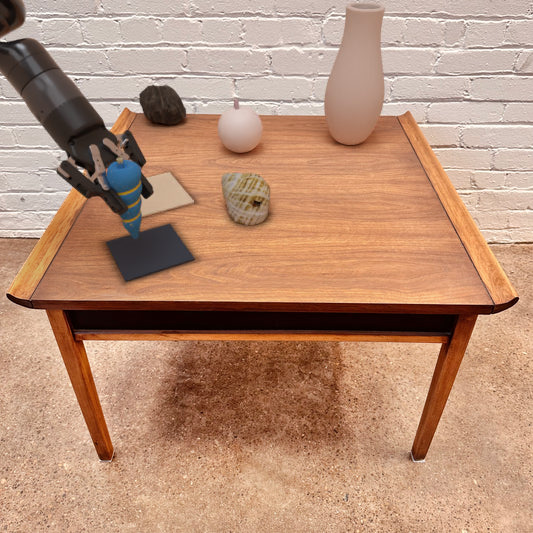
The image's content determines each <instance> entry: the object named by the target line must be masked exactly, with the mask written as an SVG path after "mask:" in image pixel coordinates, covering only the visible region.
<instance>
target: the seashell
mask: <svg viewBox="0 0 533 533" xmlns="http://www.w3.org/2000/svg"><path fill="white" fill-rule="evenodd" d="M220 183H221V190H222V196H223V198H224V200H225V203H226V208H227V212H228V215H229V216H230V219H232V221H234V222H235V223H237V224H243V225H245V226H254V225H255V226H256V225H258V224H261V223H263V222H264V221H266V219H267V218H268V216H269V209H270V205H271V187H270V185H269V184H268V182H267V181H266V180H265V178H264V177H262V176H261V175H260V174H257V173H252V172H246V173H244V172H227V173H223V174H222V175H221V180H220ZM254 204H255V205H256V206H253V205H254Z"/></svg>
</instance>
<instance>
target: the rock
mask: <svg viewBox="0 0 533 533" xmlns="http://www.w3.org/2000/svg"><path fill="white" fill-rule="evenodd" d="M138 96H139V99H138V100H139V105H140V107H141V109H142V113H143V116H144V118H146V119H147V120H149V121H150V122H153V123H154V124H160V123H161V124H164V125H176V124H177V123H179V122H181V121H183V120H184V119H186V118H187V108H186V107H185V105H184V102H183V100H182V97H180V95H179V94H178V93H177V91H176V90H175V89H174V88H173V87H171V86H169V85H155V84H152V85H147V86H146V87H145V88H144V89H143V90H141V92H140V93H139V94H138Z"/></svg>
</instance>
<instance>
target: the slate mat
mask: <svg viewBox="0 0 533 533" xmlns="http://www.w3.org/2000/svg"><path fill="white" fill-rule="evenodd" d="M105 244H106V246H107V248H108V250H109V252H110V255H111V257H112V258H113V260H114V262H115V264H116V266H117V268H118V270H119V272H120V274H121V276H122V278H123V279H124V282H125V283H128V282H130V281H134V280H136V279H140V278H143V277H146V276H149V275H152V274H155V273H158V272H162V271H165V270H168V269H171V268H174V267H178V266H180V265H183V264H187V263H190V262H193V261H195V260H196V259H195V258H196V257H195V256H194V255H193V254H192V253H191V251H190V250H189V249H188V247H187V245H186V244H185V242H184V240H182V238H181V236H180V235H179V234H178V233H177V231H176V230H175V229H174V227H173V226H172V224H171V223H165V224H162V225H158V226H156V227H153V228H149V229H146V230H142V231H139V235H138V238H137V239H134V238H133V237H132V236H131V235H130V234H128V235H124V236H120V237H117V238H114V239H110V240H107V241H105Z"/></svg>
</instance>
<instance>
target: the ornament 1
mask: <svg viewBox="0 0 533 533" xmlns="http://www.w3.org/2000/svg"><path fill="white" fill-rule="evenodd" d="M119 155H120V154H119ZM119 155H118V158H117V159H116V160H117V161H116V162H113V163H112V164H110V165H109V167H108V168H107V169H106V177H107V180H108V182H109V185H110V189H112V188H113V189H114V190H115V191H116V193H117V194H118V195H119V196H120V198H121V199H122V200H123V201H124V203H125V204H126V205H127V207H128V210H127V211H126V212H125V213H124V214H122V215H121V216H120V215H119V217H120V219H121V220H122V227H124V229H125V230H126V231H127V233H128V234H129V235H131V236H132V237H133V238H134V239H137V238H138V235H139V232H140V229H141V225H142V218H143V217H142V214H141V210H140V209H141V204H142V199H141V196H140V195H141V191H142V182H141V180H140V179H141V171H142V169H141V168H140V167H139V165H138V164H136V163H135V162H133V161H130V160H123V158H119Z"/></svg>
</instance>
